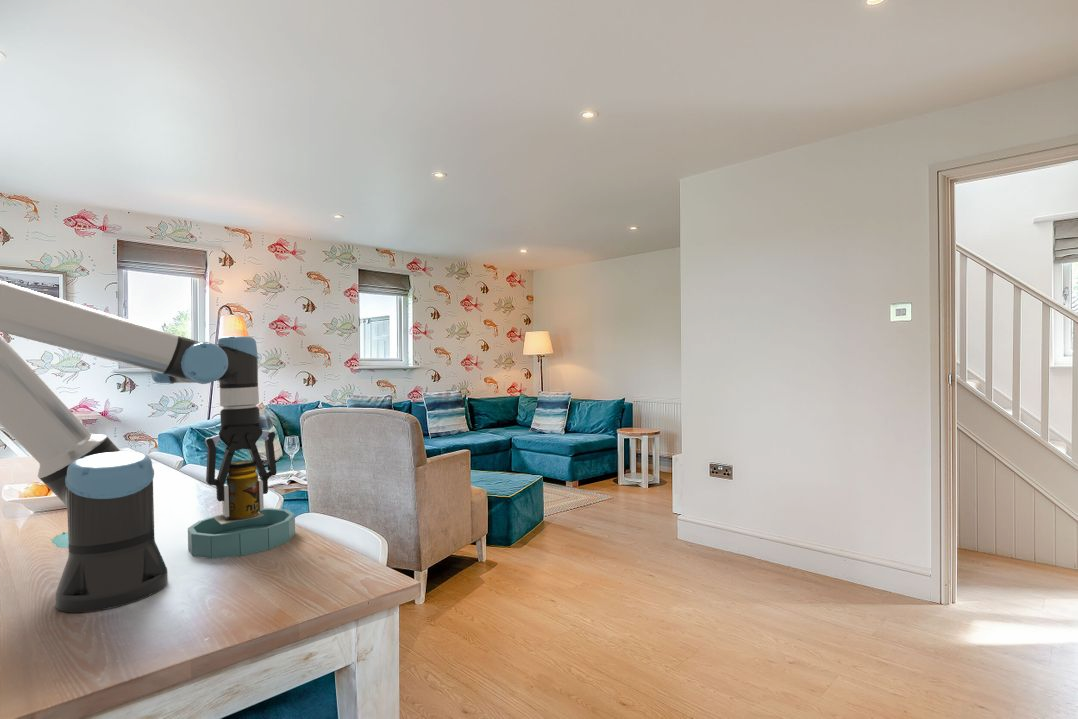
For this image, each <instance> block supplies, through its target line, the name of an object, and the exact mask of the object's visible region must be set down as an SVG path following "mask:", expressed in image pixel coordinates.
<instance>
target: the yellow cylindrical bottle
mask: <svg viewBox="0 0 1078 719" xmlns="http://www.w3.org/2000/svg"><path fill="white" fill-rule="evenodd" d="M258 479H259V474H258V471H257V469H256V463H255V461H253V459H251V460H246V459H245V460H237V461H231V464H230V467H229V471H228V474H227V477H226V485H228V491H229V516H228V517H225V516H224V515H222V516H217V515H214V516H215V517H214V516H213V517H214V519H215V520H216V521H218V522H219V523H220V524H225V523H230V522H235V521H240V520H247V519H252V518H257V517H262V516H264V515H263V514H261V513H260V512H258V511H259V499H258V498H259V496H258V495H259V494H258V492H259V491H258Z"/></svg>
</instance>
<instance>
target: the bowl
mask: <svg viewBox="0 0 1078 719" xmlns="http://www.w3.org/2000/svg"><path fill="white" fill-rule="evenodd" d="M258 512H260V513H261V514H263V515H264V516H262V517H257V518H252V519H247V520H240V521H235V522H230V523H225V524H220V523H219V522H218V521H216V520H215V519H214V517H215V516H222V515H223V513H220V514H218V515H214V516H211V517H207V518H204V519H201V520H198V521H196V522H195V523H193V524H192V525H191V526H189V527H188V528H187V546H188V547H187V548H188V552H189V553H190V555H191V556H192V557H196V558H205V559H221V558H222V559H223V558H233V557H234V558H235V557H241V556H242V557H243V556H247V555H251V554H257V553H260V552H264V551H269V550H271V549H274V548H276V547H279V546H282V545H284V544H286V543H289V542H290V541H291V539H292V538H293V537H295V535H296V514H295V513H294V512H292V511H291V510H289V509H285V508H284V509H283V508H282V509H281V508H275V507H274V508H272V507H268V508H266V507H265V508H264V510H261V511H260V510H259V511H258Z"/></svg>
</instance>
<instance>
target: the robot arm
mask: <svg viewBox="0 0 1078 719" xmlns="http://www.w3.org/2000/svg"><path fill="white" fill-rule="evenodd" d="M0 333H4V334H8V335H11V336H15V337H18V338H23V339H27V340H30V341H34V342H38V343H42V344H47V345H50V346H54V347H58V348H62V349H65V350H69V351H73V352H77V353H82V354H85V355H89V356H93V357H96V358H101V359H104V360H109V361H111V362H116V363H120V364H123V365H127V366H128V365H129V366H130V367H131V366H132V367H135V368H139V369H143V370H147V371H150V374H151V378H152V380H153V381H154V383H157V384H170V385H173V384H177V383H178V384H179V383H183V384H184V383H189V384H190V383H191V384H192V383H194V384H195V383H197V384H201V385H206V384H210V383H213V382H216V381H218V382H219V406H220V407H222V408H221V410H220V411H219V412H220V414H219V415H220V430H219V432H218V434H216V435H213V436H211V437H206V438H205V439H204V443H205V445H206V449H207V452H206V454H207V455H206V474H205V476H206V477H205V483H206V484H208V485H209V486H214V487H216V488H215V489H216V500H217V502H222V514H223V515H224V516H225V517H228V516H229V491H228V485H227V483H226V481H227V477H228V475H229V473H228V471H229V467H230V464H231V463H232V462H233V457H234V455H235V452H236V451H240V450H248V451H249V454H250V456H251V458H252V459H251V460H253V461H255V463H256V467H255V468H256V472H257V474H258V477H259V478H258V491H259V492H258V494H259V495H258V496H259V498H258V499H259V510H260V511H261V510H264V509H265V507H264V506H265V504H264V495H266V494H268V492H269V479H270V478H271V477H273V476H276V475H277V465H276V455H275V454H276V453H275V447H274V441H275V437H276V432H274V431H271V430H269V431H267V430H263V429H262V427H261V425H260V424H261V420H260V419H261V418H260V408H259V407H258V406H257V405H259V404H260V397H259V396H260V394H259V374H258V372H259V370H258V369H259V366H258V363H259V361H258V359H259V356H258V355H259V354H258V345H257V341H256V339H255V338H253V337H252V336H221V337H219V338H218V339H217V344H215V343H211V342H208V341H198V340H195V339H191V338H187V337H184V336H180V335H178V334H175V333H172V332H168V331H166V330H162V329H160V328H159V329H158V328H156V327H152V326H149V325H146V324H143V323H140V322H136V321H132V320H129V319H127V318H122V317H119V316H117V315H113V314H111V313H110V314H109V313H106V312H103V311H100V310H96V309H93V308H90V307H87V306H84V305H80V304H77V303H73V302H70V301H67V300H64V299H62V298H58V297H54V296H52V295H49V294H44V293H42V292H38V291H34V290H33V289H32V290H31V289H29V288H25V287H21V286H18V285H15V284H12V283H8V282H7V281H2V280H0ZM0 425H1V427H3V428H4V429H5V430H6V431H7V432H8V433H9V434H10V435H11V436H12V437H13V438H14V440H16V441H17V442H18V443H19V444H20V445H21V446H22V447H23V448H24V449H25V451H26V452H28V453H29V455H31V456H32V457H33V459H34V460H36V461H37V462H38V463H39V468H38V473H37V478H38V479H40V481H41V482H42V483H44V485H45V486H46V487H47V488H48V489H49V490H51V492H53V494H54V495H56V497H57V498H58V499H59V500H60V501H61V502H62V503H63V504H64V505H65V507H66V509H67V510H66V511H67V532H68V543H69V548H68V557H67V560H66V563H65V566H64V569H63V571H62V573H61V574H62V575H61V577H60V580H59V583H58V585H57V587H56V588H57V589H56V591H55V608H56V609H57V610H58V611H60V612H65V613H87V612H97V611H100V610H101V611H102V610H105V609H106V610H107V609H111V608H116V607H119V606H123V605H126V604H127V605H128V604H130V603H133V602H136V601H139V600H141V599H145V598H147V597H149V596H152V595H153V594H156V593H157V592H159V591H160V590H162V589H163V588H164V587H166V586H167V584H168V581H169V580H168V577H169V576H168V567H167V566H166V563H165V561H164V559H163V556H162V554H161V552H160V549H159V547H158V545H157V542H156V539H155V512H154V511H155V510H154V509H155V507H154V506H155V504H154V503H155V502H154V478H155V477H154V476H155V470H154V468H153V462H152V461H153V460H152V459H151V457H149V456H148V455H147V454H144V453H142V452H132V451H121V450H120V449H119V447H118V446H117V445H116V444H115V443H114V442H113V441H112V440H111V439H110V438H109V437H108V436H107V435H106V434H97V433H92V432H90V431H89V430H88V429H87V427H86V426H85V425H84V424H83V423H82V422H81V421H80V420H79V418H78V417H76V415H75V414H74V413H73V412H72V411H71V410H70V408H68V407H67V406H66V404H65V403H64V402H63V401H62V400H61V399H60V398H59V397H58V396H57V395H56V394H55V392H53V390H52V389H51V388H50V387H49V386H48V384H46V383H45V381H43V380H42V378H41V377H40V376H39V375H38V374H37V373H36V372H35V371H34V369H32V368H31V367H30V366H29V365H28V363H27V362H26V361H25V360H24V359H23V358H22V357H21V356H20V354H19V353H18V352H16V350H15V349H14V348H13V347H12V346H11V345H10V344H9V342H7V340H6V339H5V338H4V337H3V336H2V335H1V334H0ZM261 436H262V440H264V448H265V456H266V457H265V458H266V464H267V467H266V468H267V470H266V468H265V465H264V463H263V460H262V458H261V455H260V453H259V449H258V447H257V444H256V443H257V442H258V440H259V439H260V437H261ZM219 441H221V442H222V443H223V445H225V446H226V447H225V449H224V455H223V457H222V458H223V459H222V461H221V465H220V467H219V472H218V474H217V478H216V463H217V462H216V461H217V460H216V458H217V457H216V456H217V449H216V448H217V446H218V445H219Z"/></svg>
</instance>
